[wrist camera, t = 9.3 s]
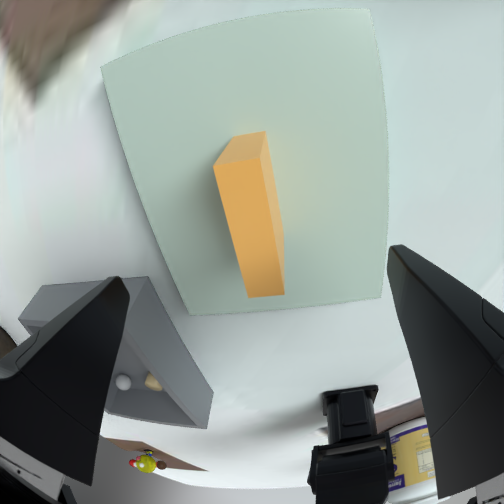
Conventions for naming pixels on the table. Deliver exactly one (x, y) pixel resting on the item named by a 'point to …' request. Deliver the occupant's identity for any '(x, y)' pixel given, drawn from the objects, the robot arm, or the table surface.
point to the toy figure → (147, 463)
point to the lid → (261, 158)
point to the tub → (139, 357)
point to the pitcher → (5, 344)
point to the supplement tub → (412, 465)
